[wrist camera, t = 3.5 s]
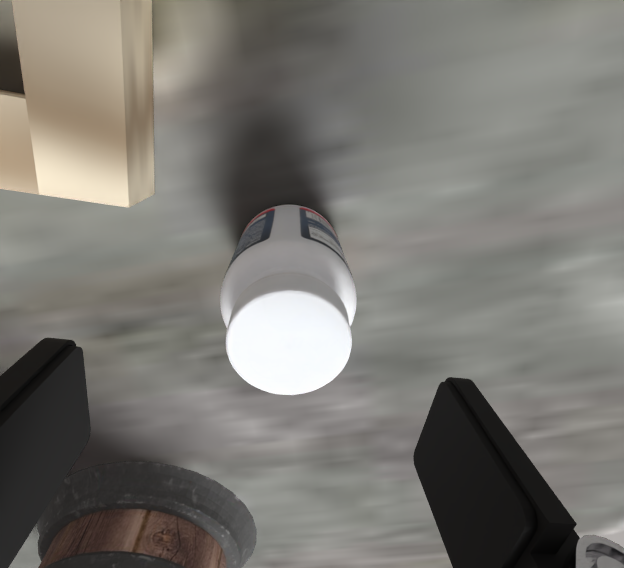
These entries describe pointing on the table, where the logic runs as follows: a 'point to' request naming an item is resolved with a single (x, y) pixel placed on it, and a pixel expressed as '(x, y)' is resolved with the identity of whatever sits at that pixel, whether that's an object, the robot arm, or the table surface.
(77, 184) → the wooden rack
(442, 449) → the robot arm
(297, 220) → the pill bottle
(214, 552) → the tankard
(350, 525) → the table surface
